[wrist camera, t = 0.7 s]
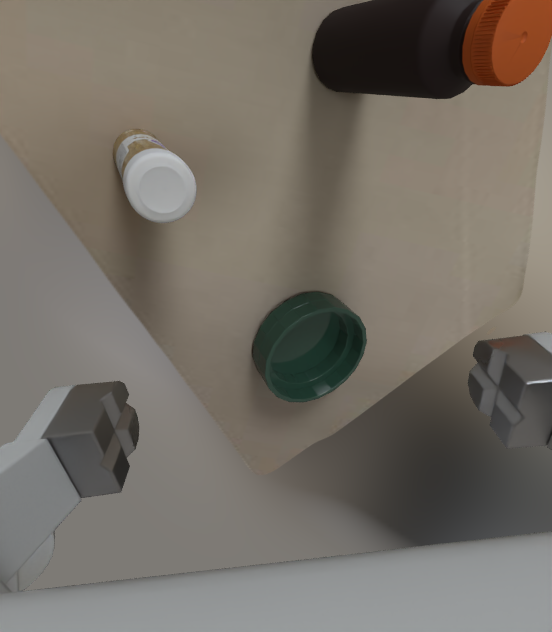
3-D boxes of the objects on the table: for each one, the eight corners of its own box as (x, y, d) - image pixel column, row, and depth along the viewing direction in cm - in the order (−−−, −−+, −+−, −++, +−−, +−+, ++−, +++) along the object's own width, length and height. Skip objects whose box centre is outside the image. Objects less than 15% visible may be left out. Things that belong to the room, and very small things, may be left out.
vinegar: (325, 105, 40) (482, 125, 24) (300, 31, 35) (472, -1, 20) (377, 69, 40) (565, 67, 25) (359, -7, 36) (572, -68, 20)
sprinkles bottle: (169, 138, 35) (206, 165, 25) (158, 187, 37) (188, 231, 27) (116, 120, 33) (133, 141, 23) (107, 172, 35) (119, 215, 24)
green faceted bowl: (337, 369, 62) (355, 389, 58) (249, 389, 56) (261, 413, 52) (355, 284, 54) (376, 300, 50) (254, 297, 48) (270, 316, 44)
